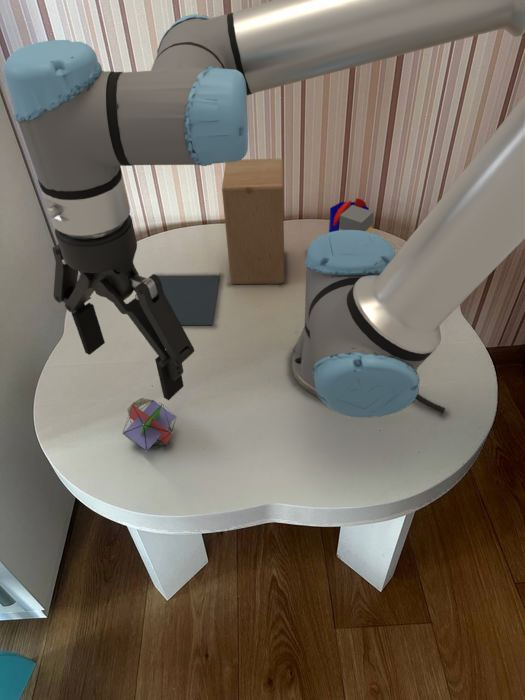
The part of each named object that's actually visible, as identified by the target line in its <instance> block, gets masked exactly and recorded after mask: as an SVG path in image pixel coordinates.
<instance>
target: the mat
mask: <svg viewBox="0 0 525 700" xmlns="http://www.w3.org/2000/svg"><path fill="white" fill-rule="evenodd" d="M157 276H158V277H159V278H160V281H161V284H162V288H163V291H164V294H165V296H166V298H167V300H168V302H169V304H170V305H171V307H172V309H173V311H174V313H175V315H176V316H177V318H178V320H179V322H180V324H181V326H182V327H184V326H185V327H187V326H188V327H190V326H191V327H195V326H196V327H197V326H199V327H200V326H201V327H204V326H205V327H207V326H208V327H211V326H213V325H214V324H213V323H214V316H215V311H216V305H217V304H216V303H217V298H218V291H219V285H220V279H221V275H157Z"/></svg>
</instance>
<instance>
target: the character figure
mask: <svg viewBox="0 0 525 700" xmlns="http://www.w3.org/2000/svg"><path fill="white" fill-rule="evenodd" d="M373 220H374V211H373V210H370V209H369V210H366V209H363V208H360V207H357V206H354V205H352V206H351V207H349V208H348V209H347V210H346V211H345V212H344V213H342V214H341V215H340V223H339V231H340V230H360V231H366V232H370V233H372V228H373Z"/></svg>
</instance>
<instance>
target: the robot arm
mask: <svg viewBox="0 0 525 700" xmlns="http://www.w3.org/2000/svg"><path fill="white" fill-rule="evenodd" d="M500 30H504V31H506V32H507V33H509V34H510V35H511V36H513V37H515V38H516V37H518V38H519V37H521V36H525V0H270V1H267V2H263V3H260V4H255V5H253V6H250V7H247V8H242V9H239V10H236V11H232V12H230V13H226V14H221V15H218V16H214V17H209V16H208V15H207V16H206V15H203V14H195V13H194V14H188V15H184V16H183V17H180V18H178V19H177V20H176V21H175V22H173V23H172V25H171V26H170V27H169V28H168V29H167V30H166V31H165V32H164V34H163V36H162V38H161V39H160V41H159V45H158V48H157V50H156V57H155V59H154V62H153V63H152V66H151V68H150V70H140V71H139V70H138V71H113V70H111V71H109V70H108V71H104V70H103V68H102V64H101V63H100V62H99V61H98V56H97V53H96V52H95V50H94V49H93V48H92V47H91V46H90V45H89V44H88V43H85V42H82V41H71V40H69V39H53V40H44V41H39V42H38V41H37V42H34V43H31V44H27V45H24V46H21V47H20V48H18V49H16V50H15V51H13V52H12V53H11V54H10V56H8V57H7V58H6V61H5V62H4V67H3V73H4V78H5V82H6V85H7V90H8V94H9V97H10V101H11V104H12V107H13V108H12V109H13V111H14V113H13V114H14V115H13V117H14V120H15V122H17V124H18V126H19V129H20V132H21V135H22V138H23V140H24V141H23V142H24V143H25V147H26V149H27V152H28V154H29V158H30V160H31V163H32V167H33V169H34V172H35V175H36V178H37V182H38V185H39V188H40V190H41V192H42V195H43V196H42V197H43V199H44V202H45V205H46V208H47V209H46V214H47V215H48V217H49V218H50V220H51V221H50V222H51V224H52V226H53V227H54V234H55V238H56V241H57V244H56V245H55V246H53V247H52V253H53V256H54V261H55V267H54V268H55V269H54V280H53V281H54V283H53V298H54V299H53V300H54V301H56V302H57V303H59V304H60V303H62V302H63V303H64V307H65V308H66V310H67V311H68V312H69V313H71V316H72V318H73V321H74V324H75V327H76V329H77V332H78V336H79V338H80V341H81V344H82V347H83V351H84V353H85V354H87V355H88V356H90V355H92V354H93V353H94V352H96V351H97V350H98V349H99V348H101V347H102V346H103V345H105V343H106V341H105V339H104V336H103V332H102V329H101V325H100V323H99V319H98V316H97V313H96V309H95V306H94V304H93V303H91V302H88V301H89V300H91V299H92V297H91V296H92V295H93V294H94V292H95V294H96V295H97V296H99V297H102V298H106V299H107V300H108V301H110V302H111V303H113V304H114V306H115V307H116V308H117V310H118V311H119V313H121V314H122V315H127V316H128V318H129V319H130V321H132V323H133V324H134V325H135V327H136V328H137V330H138V331H139V333H141V335H142V336H143V337H144V339H145V340H146V341H147V343H148V344H149V346H150V347H151V348H152V350H153V351H154V352H155V353H156V355H157V357H156V358H155V359H154V360H155V365H156V369H157V375H158V378H159V382H160V387H161V392H162V396H163V398H164V399H165V400H167V401H170V400H171V399H172V398H173V397H174V396H175V395H176V394H177V393H178V392H179V391H180V390H181V389H182V388H184V385H185V384H184V380H183V376H182V375H183V374H184V368H183V363H184V362H185V361H186V360H187V359H188V358H189V357H190V356H192V355H193V354H194V353H195V347H194V346H193V344H192V343H191V341H190V339H189V337H188V334H187V333H186V331H185V329H184V328H183V326H181V324H180V322H179V320H178V318H177V316H176V315H175V313H174V311H173V309H172V307H171V305H170V304H169V302H168V300H167V298H166V296H165V294H164V291H163V288H162V284H161V281H160V278H159V277H158V276H159V275H157V274H155V273H153V274H151V275H150V276H148V277H145V276H142V275H140V273H139V271H138V270H137V268H136V266H135V264H134V260H135V255H136V253H137V250H138V249H137V248H138V242H137V241H138V240H137V237H136V232H135V227H134V222H133V217H132V216H131V207H130V202H129V201H130V200H129V197H128V193H127V190H126V189H127V188H126V184H125V179H124V176H123V172H122V168H121V167H133V166H200V167H207V166H211V165H214V164H223V163H224V164H226V162H236V161H239V160H243V159H244V158H245V156H246V155H247V154H248V149H249V118H248V117H249V115H248V96H250V95H253V94H257V93H260V92H264V91H267V90H271V89H276V88H278V87H284V86H287V85H291V84H294V83H298V82H302V81H307V80H310V79H315V78H317V77H322V76H325V75H329V74H333V73H337V72H341V71H345V70H349V69H352V68H356V67H360V66H363V65H364V66H365V65H368V64H371V63H376V62H380V61H383V60H387V59H390V58H395V57H398V56H403V55H406V54H410V53H415V52H418V51H422V50H426V49H430V48H433V47H437V46H441V45H445V44H449V43H453V42H457V41H461V40H464V39H467V38H471V37H476V36H480V35H484V34H487V33H488V34H489V33H491V32H494V31H495V32H496V31H500ZM524 240H525V95H523V97H522V98H521V99H520V100H519V102H517V104H516V105H515V106H514V108H513V109H512V110H511V112H510V113H509V114H508V115H507V116H506V117H505V118H504V120H503V121H502V123H501V124H500V125H499V126H498V128H497V129H496V130H495V131H494V132H493V134H492V135H491V136H490V138H489V139H488V140H487V141H486V142H485V143H484V145H483V146H482V147H481V148H480V150H479V151H478V152H477V153H476V155H475V156H474V157H473V158H472V159H471V161H470V162H469V164H468V165H467V166H466V167H465V168H464V170H462V172H461V173H460V175H458V176H457V178H456V179H455V181H454V182H453V183H452V185H451V186H450V187H449V188H448V190H447V191H446V192H445V193H444V195H442V197H441V198H440V200H438V202H437V203H436V205H434V206H433V208H432V209H431V210H430V212H429V213H428V214H427V215H426V217H425V218H424V219H423V220H422V221H421V222H420V224H419V225H418V226H417V228H416V229H415V230H414V232H413V233H412V234H411V235H410V237H408V239H407V240H406V241H405V243H404V244H403V245H402V247H400V249H399V250H398V251H397V252H396V250H395V246H393V244H392V243H391V242H390V241H389V240H388V239H386V238H385V237H383V236H381V235H379V234H376V233H372V232H371V233H370V232H366V231H360V230H340V231H334V232H329V231H328V232H326V233H324V234H322V235H320V236H317V237H316V238H315V239H314V240H312V241H311V242H310V244H309V245H308V247H307V251H306V257H305V260H304V267H305V299H304V301H305V302H304V305H305V306H304V327H303V328H302V330H301V332H300V335H299V337H298V338H297V341H296V343H295V345H294V348H293V351H292V355H291V369H292V373H293V376H294V378H295V380H296V382H297V383H298V384H299V385H300V386H301V387H302V388H303V390H305V391H307V392H308V393H309V394H311V395H313V396H314V397H317V398H319V399H320V401H321V402H322V403H323V404H324V405H325V406H326V407H327V408H329V409H331V410H332V411H334V412H336V413H338V414H341V415H344V416H347V417H353V418H360V419H371V418H381V417H386V416H390V415H392V414H396V413H397V412H400V411H402V410H403V409H405V408H407V407H408V406H409V405H410V404H412V403H413V402H414V401H415V400H416V401H417V402H419V403H421V404H422V405H424V406H426V407H427V408H430V409H431V410H434V411H436V412H439V413H440V414H444V413H445V411H446V407H443V406H441V405H439V404H437V403H435V402H433V401H431V400H429V399H427V398H425V397H424V396H423V395H421V394H419V392H420V391H419V390H420V382H421V379H420V375H419V373H418V372H417V370H418V368H419V367H420V366H421V365H422V364H423V363H424V362H425V361H426V360H427V359H428V358H429V357H430V356H431V355H432V354H433V353H434V352H435V351H436V349H437V348H438V347H439V346H440V345H441V341H442V340H441V339H442V337H441V336H442V335H441V328H440V326H441V325H442V324H443V323H444V322H445V321H446V320H447V319H448V318H449V317H450V316H451V315H452V314H453V312H455V310H456V309H458V308H459V306H460V305H461V304H462V303H463V302H464V301H465V300H466V299H467V298H468V297H469V296H470V295H471V294H472V293H473V292H474V291H475V290H476V289H477V288H478V287H479V286H480V285H481V284H482V283H483V282H484V281H485V280H486V279H487V278H488V277H489V276H490V275H491V274H492V272H493V271H494V270H495V269H496V268H497V267H498V266H499V265H500V264H502V262H503V261H504V260H505V259H506V258H507V257H508V256H509V255H510V254H511V253H512V252H513V251H514V250H515V249H516V248H517V247H518V246H519V245H520V244H521V243H522V242H523V241H524ZM79 273H80V275H79ZM133 293H136V294H135V295H134V298H133V299H131V300H130V301H129V302H125V300H126V299H128V298H130V297H131V295H132V294H133ZM87 302H88V303H87ZM85 303H86V304H85Z"/></svg>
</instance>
